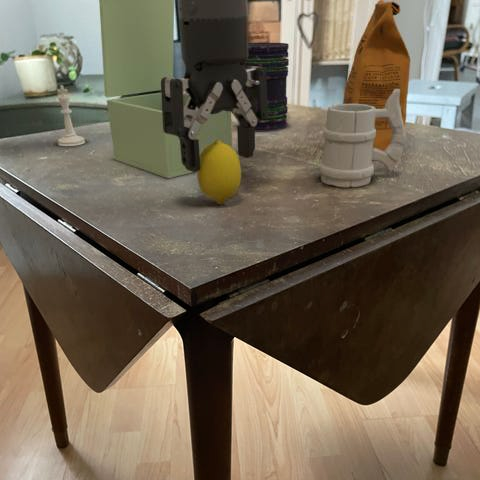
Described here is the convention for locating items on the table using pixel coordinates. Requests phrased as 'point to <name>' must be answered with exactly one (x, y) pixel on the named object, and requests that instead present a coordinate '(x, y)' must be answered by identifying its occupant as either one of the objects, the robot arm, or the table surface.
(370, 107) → the mug
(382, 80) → the coffee package
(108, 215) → the table surface
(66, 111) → the chess piece
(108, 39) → the lid
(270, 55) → the storage jar
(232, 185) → the lemon
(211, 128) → the box
